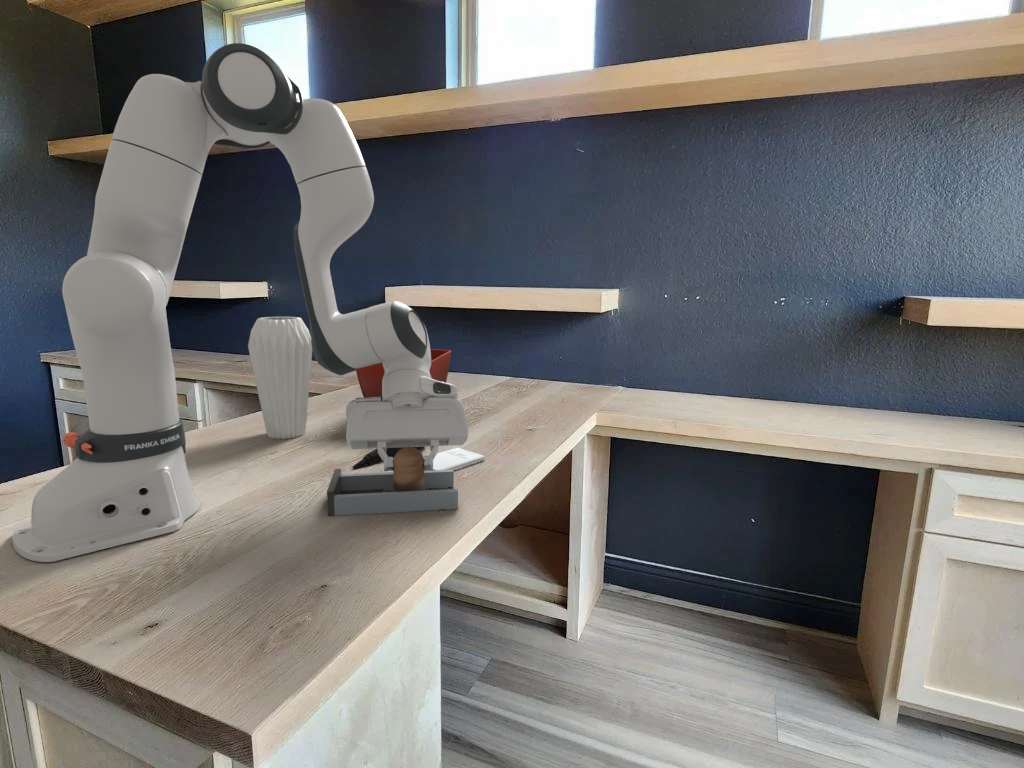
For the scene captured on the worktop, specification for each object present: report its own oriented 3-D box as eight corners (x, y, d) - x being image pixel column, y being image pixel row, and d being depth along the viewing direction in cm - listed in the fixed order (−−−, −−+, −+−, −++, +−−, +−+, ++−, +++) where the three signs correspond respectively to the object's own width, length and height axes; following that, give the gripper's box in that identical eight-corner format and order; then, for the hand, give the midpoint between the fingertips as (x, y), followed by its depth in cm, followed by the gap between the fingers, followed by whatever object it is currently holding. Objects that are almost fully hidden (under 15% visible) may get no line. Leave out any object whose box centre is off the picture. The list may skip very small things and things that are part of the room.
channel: (328, 516, 87) (326, 491, 86) (335, 491, 97) (334, 469, 96) (458, 508, 91) (458, 485, 90) (453, 485, 100) (453, 464, 99)
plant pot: (430, 431, 133) (429, 361, 130) (354, 426, 136) (351, 357, 133) (452, 412, 152) (452, 349, 148) (385, 407, 155) (383, 346, 151)
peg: (408, 502, 91) (407, 454, 89) (387, 494, 94) (386, 447, 92) (430, 492, 94) (430, 446, 93) (410, 485, 97) (409, 440, 96)
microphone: (362, 486, 108) (431, 447, 124) (365, 462, 105) (435, 425, 121) (342, 472, 110) (412, 436, 126) (344, 448, 107) (416, 414, 123)
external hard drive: (409, 468, 110) (456, 453, 119) (438, 479, 105) (484, 462, 114) (409, 460, 110) (456, 446, 119) (438, 470, 104) (484, 455, 114)
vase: (312, 423, 138) (306, 315, 132) (322, 438, 126) (316, 320, 121) (252, 429, 132) (244, 316, 126) (256, 445, 120) (247, 321, 115)
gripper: (344, 388, 95) (340, 462, 88) (465, 385, 99) (471, 457, 92) (348, 407, 101) (344, 479, 93) (463, 404, 104) (468, 473, 97)
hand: (408, 468), depth 92 cm, fingers closed on peg, 5 cm apart
